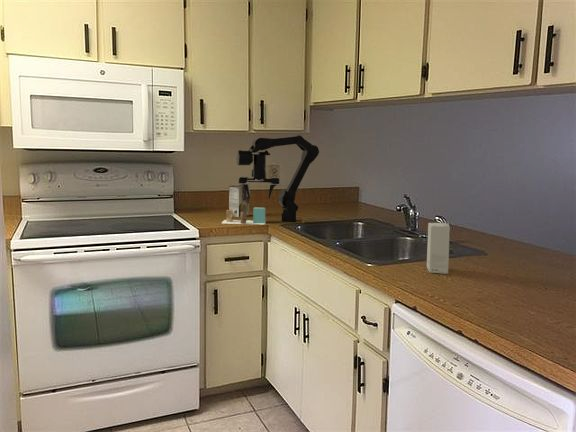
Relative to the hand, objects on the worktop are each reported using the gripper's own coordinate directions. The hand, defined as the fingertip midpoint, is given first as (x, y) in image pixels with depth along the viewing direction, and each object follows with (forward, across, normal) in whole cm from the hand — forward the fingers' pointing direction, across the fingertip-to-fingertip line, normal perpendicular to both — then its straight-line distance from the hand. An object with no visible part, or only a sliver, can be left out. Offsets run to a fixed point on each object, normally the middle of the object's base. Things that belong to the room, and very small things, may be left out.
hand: (259, 198), depth 234 cm
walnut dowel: (+12, +7, +4) cm, 14 cm away
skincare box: (+12, -64, +76) cm, 100 cm away
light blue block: (+11, 0, 0) cm, 11 cm away
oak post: (+12, +14, 0) cm, 18 cm away
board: (+12, +7, +1) cm, 14 cm away
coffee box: (+12, +12, -19) cm, 25 cm away
